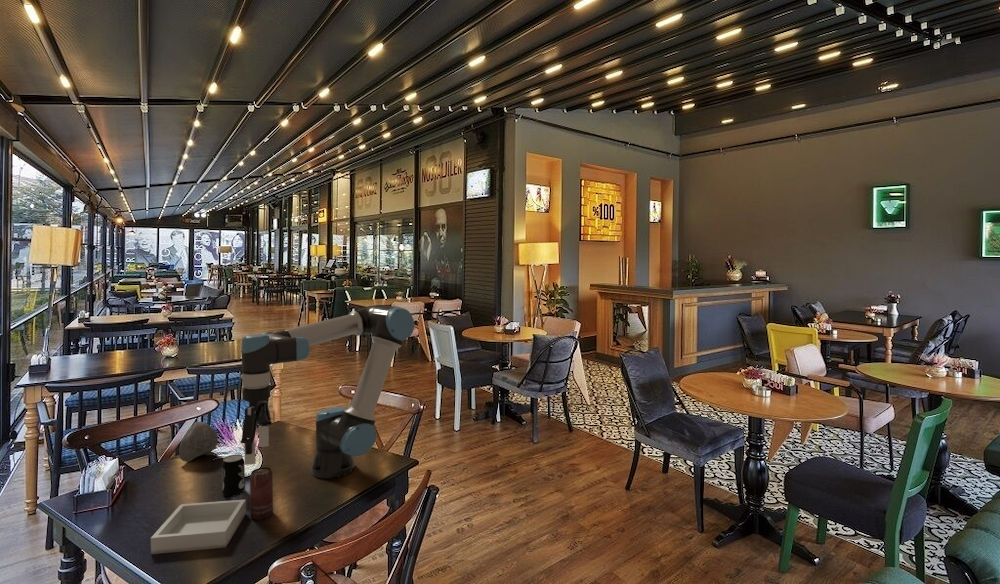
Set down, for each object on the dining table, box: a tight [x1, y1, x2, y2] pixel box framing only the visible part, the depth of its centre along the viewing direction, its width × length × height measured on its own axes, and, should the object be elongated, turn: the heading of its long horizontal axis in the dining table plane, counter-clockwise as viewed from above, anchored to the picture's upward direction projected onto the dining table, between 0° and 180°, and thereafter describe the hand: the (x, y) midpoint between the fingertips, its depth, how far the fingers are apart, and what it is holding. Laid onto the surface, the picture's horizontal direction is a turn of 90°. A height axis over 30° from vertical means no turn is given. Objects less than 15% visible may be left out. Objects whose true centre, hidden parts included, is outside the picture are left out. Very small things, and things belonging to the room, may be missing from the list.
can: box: [249, 466, 274, 521], centre depth 149 cm, size 6×6×14 cm
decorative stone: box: [178, 421, 219, 463], centre depth 190 cm, size 15×10×15 cm
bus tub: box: [150, 499, 247, 555], centre depth 139 cm, size 18×18×4 cm
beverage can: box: [221, 454, 246, 498], centre depth 163 cm, size 7×7×12 cm
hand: (257, 454), depth 148 cm, fingers open, 13 cm apart
